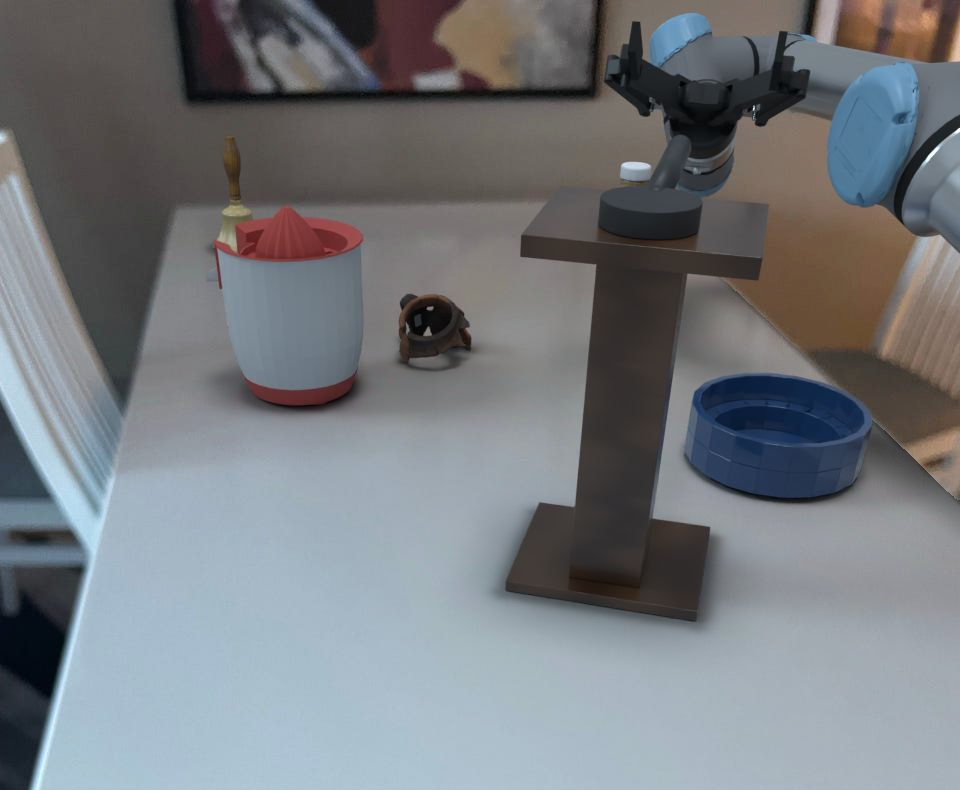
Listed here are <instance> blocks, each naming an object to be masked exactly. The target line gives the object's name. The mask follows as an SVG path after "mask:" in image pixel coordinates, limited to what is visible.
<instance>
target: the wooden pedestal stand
mask: <svg viewBox="0 0 960 790" xmlns="http://www.w3.org/2000/svg"><path fill="white" fill-rule="evenodd" d="M607 190H608V189H600V188H589V187H578V186H565V185H559V187H558V188H557V189H556V190H555V191H554V193H553V194H552V195H551V196H550V197H549V199H548V200H547V202H546V203H545V204H544V205H543V207H541V209H539V210H540V211H539V212H537V214H536V216H534V218H533V219H532V220H531V221H530V223H529V224H528V225H527V226H526V227H525V229H524V231H523V232H522V233H521V235H520V246H519V247H520V251H519V257H520V258H526V259H536V260H547V261H556V262H566V263H567V262H568V263H576V264H577V263H578V264H587V265H595V273H594V274H595V275H594V276H595V277H594V287H593V297H592V308H591V309H592V311H591V319H590V321H591V322H590V331H589V344H588V355H587V366H586V376H585V389H584V390H585V391H584V398H583V399H584V400H583V401H584V402H583V408H582V409H583V411H582V421H581V422H582V423H581V431H580V444H579V456H578V466H577V467H578V468H577V479H576V489H575V498H574V506H568V505H561V504H555V503H548V502H542V501H539V502H538V504H537V507H536V509H535V511H534V513H533V516H532V518H531V520H530V522H529V524H528V525H529V526H528V527H527V530H526V532H525V534H524V537H523V539H522V541H521V544H520V546H519V549H518V551H517V554H516V556H515V558H514V561H513V563H512V565H511V568H510V569H509V572H508V574H507V576H506V579H505V584H504V590H505V591H508V592H513V593H520V594H526V595H530V596H531V595H533V596H538V597H544V598H551V599H556V600H563V601H568V602H569V601H570V602H575V603H581V604H587V605H595V606H601V607H607V608H612V609H619V610H625V611H631V612H637V613H644V614H649V615H656V616H662V617H667V618H668V617H669V618H674V619H681V620H687V621H693V622H696V621H697V619H698V613H699V607H700V600H701V594H702V587H703V581H704V574H705V566H706V560H707V554H708V553H707V552H708V546H709V539H710V532H711V527H710V526H706V525H701V524H694V523H687V522H680V521H674V520H673V521H672V520H667V519H666V520H665V519H658V518H654V513H655V506H656V499H657V490H658V484H659V477H660V469H661V463H662V457H663V456H662V455H663V449H664V444H665V443H664V441H665V435H666V427H667V420H668V415H669V407H670V400H671V393H672V385H673V380H674V379H673V378H674V371H675V364H676V357H677V350H678V344H679V336H680V330H681V322H682V314H683V307H684V300H685V293H686V288H687V287H686V286H687V280H688V279H687V278H688V275H694V276H695V275H697V276H706V277H707V276H708V277H715V278H716V277H717V278H727V279H736V280H737V279H738V280H744V281H745V280H746V281H748V280H749V281H757V282H758V281H759V280H760V274H761V270H762V264H763V259H764V251H765V243H766V234H767V225H768V224H767V223H768V216H769V208H770V204H769V203H761V202H751V201H750V202H749V201H739V200H727V199H715V198H707V197H702V198H700V199H701V200H702V202H703V206H702V213H701V219H700V226H699V230H698V232H697V233H695V234H694V235H691V236H688V237H685V238H680V239H671V240H646V239H636V238H629V237H624V236H620V235H616V234H613V233H611V232H608V231H606V230H604V229H603V228H601V227H600V226H599V224H598V218H599V206H600V197H601V194H602V193H604V192H605V191H607Z"/></svg>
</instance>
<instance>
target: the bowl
mask: <svg viewBox="0 0 960 790" xmlns="http://www.w3.org/2000/svg"><path fill="white" fill-rule="evenodd" d="M873 426H874V425H873V415H872V411H870V410H869V408H868V407H867V406H866V405H865V404H864V402H863V401H862V400H860V399H858V397H855V396H854V395H852V394H850V393H848V392H847V391H845V390H844V389H841V388H838V387H835V386H834V385H831V384H828V383H825V382H822V381H818V380H815V379H811V378H806V377H802V376H797V375H790V374H781V373H773V372H743V373H737V374H729V375H722V376H719V377H716V378H714V379H711V380H708V381H705V382H704V383H702V384H701V385H700V386H699V387H698V388H696V389H695V390H694V391H693V395H692V400H691V405H690V411H689V417H688V423H687V431H686V437H685V443H684V449H683V450H684V452H685V454H686V457H687V459H688V461H689V463H690V464H691V465H692V466H694V467H695V468H696V469H697V470H699V472H700V473H702V474H703V475H704V476H706V477H708V478H710V479H712V480H714V481H716V482H718V483H720V484H722V485H724V486H726V487H730V488H733V489H736V490H740V491H743V492H747V493H750V494H753V495H761V496H766V497H767V496H768V497H776V498H784V499H786V498H787V499H789V498H796V499H797V498H814V497H815V498H816V497H821V496H824V495H830V494H835V493H837V492H839V491H841V490H843V489H845V488H847V487H849V486H850V485H852V484H854V481H856V479H857V478H858V476H859V475H860V474H861V473H860V472H861V469H862V467H863V466H862V465H863V462H864V458H865V455H866V451H867V447H868V444H869V440H870V437H871V432H872V428H873Z"/></svg>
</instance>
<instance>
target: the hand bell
mask: <svg viewBox="0 0 960 790" xmlns="http://www.w3.org/2000/svg"><path fill="white" fill-rule="evenodd" d="M222 161H223V168H224V171H225V173H226V176H227V181H228V187H229V205H228V207H226V208H224V209H223V210H222V211H221V227H220V232H219V235H218V237H217V238H216V240H217V241H220V242H223V243H225V244H228V245H230V247H231V249H232V250H233V251H234V252H236V253H237V243H236V231H235V225H236V224H239V223H243V222H246V221H252V220H254V218H253V214H252V211H251V209H249V207H248V208H247V207H246V206H244V205H243V204H242V195H241V186H240V175H241V171H242V170H241V169H242V159H241V153H240V149H239V146H238V144H237V142H236V139H235V136H234V135H233V134H226V135H225V137H224V143H223V149H222ZM212 247H213V248H214V244H213V245H212Z"/></svg>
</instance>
